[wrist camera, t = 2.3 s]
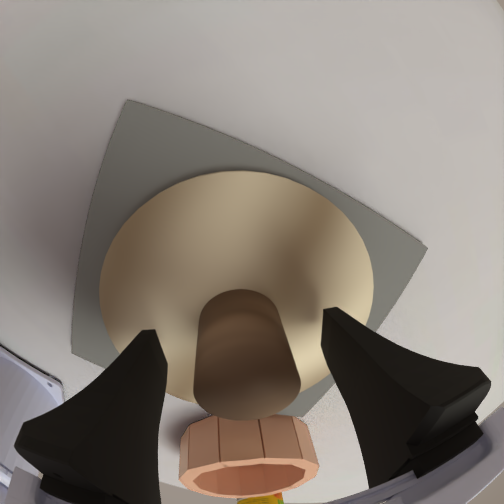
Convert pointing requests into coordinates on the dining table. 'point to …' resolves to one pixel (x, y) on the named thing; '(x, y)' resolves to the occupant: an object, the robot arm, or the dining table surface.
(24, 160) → the dining table surface
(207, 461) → the bowl
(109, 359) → the mat
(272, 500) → the supplement bottle
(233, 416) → the lid
